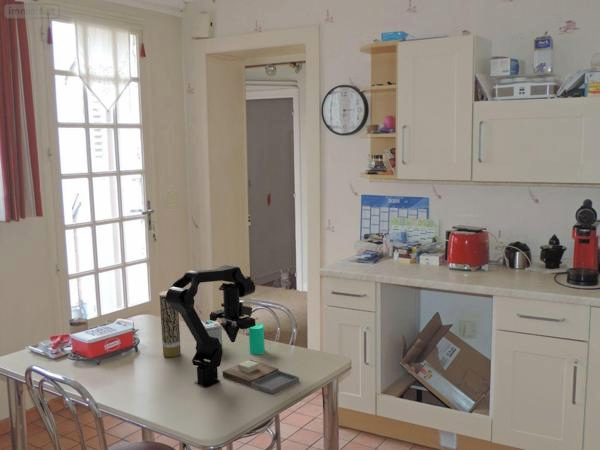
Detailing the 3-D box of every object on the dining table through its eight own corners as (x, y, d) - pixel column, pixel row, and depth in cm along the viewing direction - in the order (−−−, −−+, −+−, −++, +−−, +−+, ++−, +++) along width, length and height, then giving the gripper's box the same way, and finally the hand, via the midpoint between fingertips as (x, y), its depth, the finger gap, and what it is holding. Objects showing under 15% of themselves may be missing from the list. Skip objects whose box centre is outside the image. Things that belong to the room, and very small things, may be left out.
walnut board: (250, 386, 214) (249, 381, 214) (222, 376, 223) (222, 371, 223) (278, 373, 224) (278, 368, 224) (251, 364, 233) (250, 359, 233)
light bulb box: (199, 346, 255) (198, 320, 253) (215, 343, 258) (214, 318, 256) (206, 354, 245) (205, 327, 243) (223, 351, 248) (222, 325, 246)
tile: (248, 373, 221) (248, 367, 220) (238, 369, 224) (238, 364, 223) (258, 368, 224) (258, 363, 224) (248, 365, 227) (248, 360, 227)
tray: (271, 394, 207) (271, 389, 207) (251, 386, 214) (250, 382, 214) (299, 381, 217) (298, 377, 217) (278, 374, 224) (278, 370, 224)
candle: (265, 349, 249) (264, 320, 248) (263, 354, 244) (262, 324, 242) (250, 348, 250) (249, 319, 248) (248, 354, 244) (247, 324, 242)
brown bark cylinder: (176, 358, 242) (173, 295, 238) (160, 357, 243) (156, 294, 239) (183, 352, 248) (180, 290, 244) (167, 351, 250) (163, 290, 246)
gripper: (265, 299, 225) (267, 341, 227) (230, 291, 237) (232, 331, 240) (243, 306, 217) (244, 350, 219) (207, 297, 229) (209, 338, 231)
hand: (233, 342), depth 228 cm, fingers closed
